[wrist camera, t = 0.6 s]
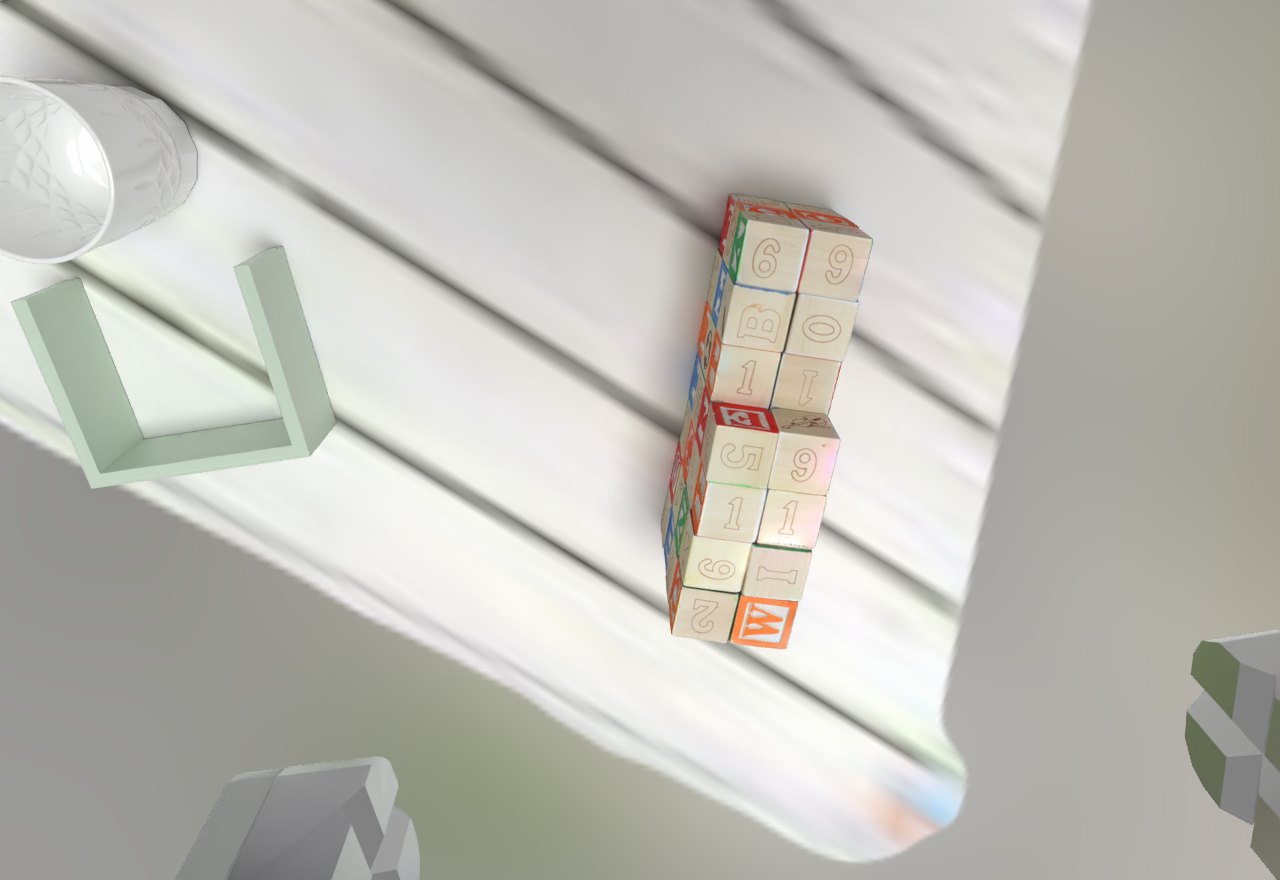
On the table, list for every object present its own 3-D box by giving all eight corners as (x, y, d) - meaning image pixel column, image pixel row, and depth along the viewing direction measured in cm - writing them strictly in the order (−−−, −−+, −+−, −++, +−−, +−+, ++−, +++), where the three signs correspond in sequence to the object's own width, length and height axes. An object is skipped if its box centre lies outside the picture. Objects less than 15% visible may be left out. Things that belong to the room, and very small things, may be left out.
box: (66, 280, 50) (10, 302, 46) (282, 246, 50) (248, 264, 45) (136, 453, 55) (91, 488, 50) (336, 423, 54) (310, 456, 49)
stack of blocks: (725, 190, 49) (757, 226, 38) (835, 208, 50) (898, 250, 39) (659, 526, 58) (669, 640, 46) (754, 539, 58) (786, 655, 47)
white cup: (192, 72, 46) (87, 73, 37) (223, 225, 49) (133, 261, 40) (40, 76, 46) (-103, 78, 37) (81, 229, 49) (-43, 266, 40)
